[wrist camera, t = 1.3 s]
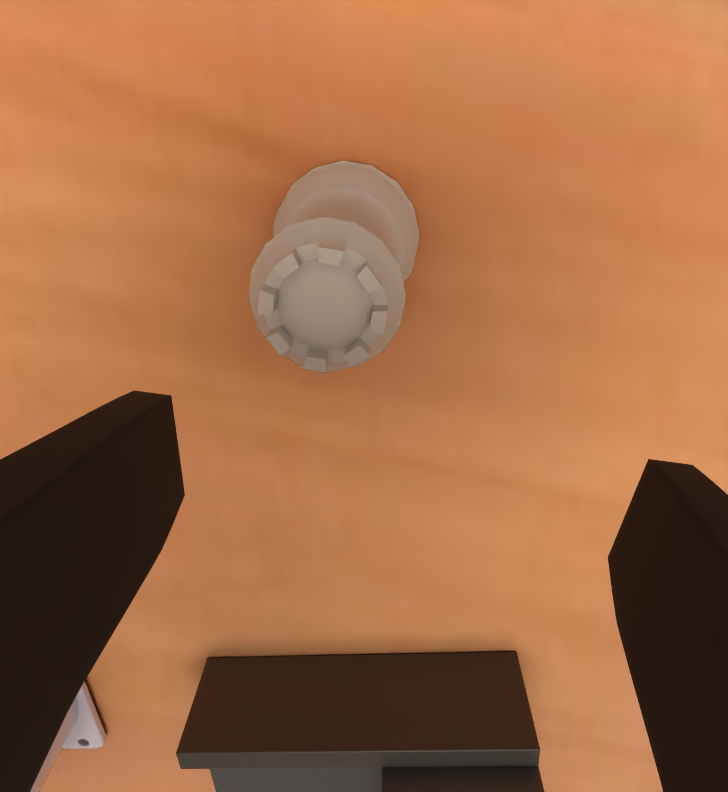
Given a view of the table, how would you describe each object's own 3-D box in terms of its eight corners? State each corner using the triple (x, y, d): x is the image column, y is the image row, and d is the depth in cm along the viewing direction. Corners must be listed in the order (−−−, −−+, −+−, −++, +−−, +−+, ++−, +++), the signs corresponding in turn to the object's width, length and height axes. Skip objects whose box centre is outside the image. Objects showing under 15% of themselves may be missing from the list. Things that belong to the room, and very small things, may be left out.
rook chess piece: (302, 135, 17) (241, 152, 10) (441, 192, 18) (477, 245, 11) (260, 275, 19) (183, 373, 12) (387, 323, 20) (387, 443, 13)
